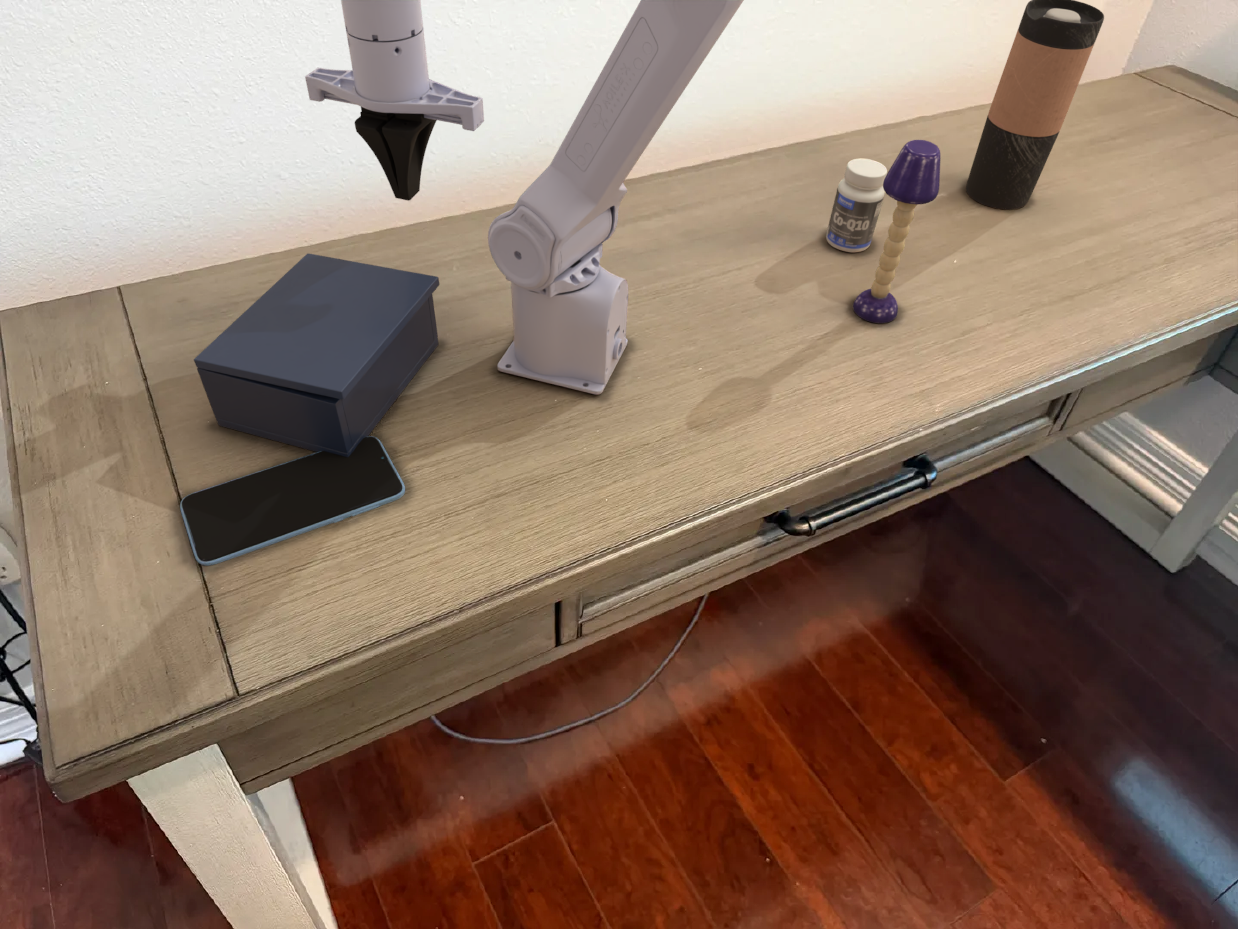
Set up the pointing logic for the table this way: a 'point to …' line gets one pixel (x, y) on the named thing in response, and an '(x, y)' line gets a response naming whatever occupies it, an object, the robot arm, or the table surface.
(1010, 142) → the travel mug
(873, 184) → the pill bottle
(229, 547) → the smartphone
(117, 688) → the table surface
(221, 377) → the box
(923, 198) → the toy lamp
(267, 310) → the lid
